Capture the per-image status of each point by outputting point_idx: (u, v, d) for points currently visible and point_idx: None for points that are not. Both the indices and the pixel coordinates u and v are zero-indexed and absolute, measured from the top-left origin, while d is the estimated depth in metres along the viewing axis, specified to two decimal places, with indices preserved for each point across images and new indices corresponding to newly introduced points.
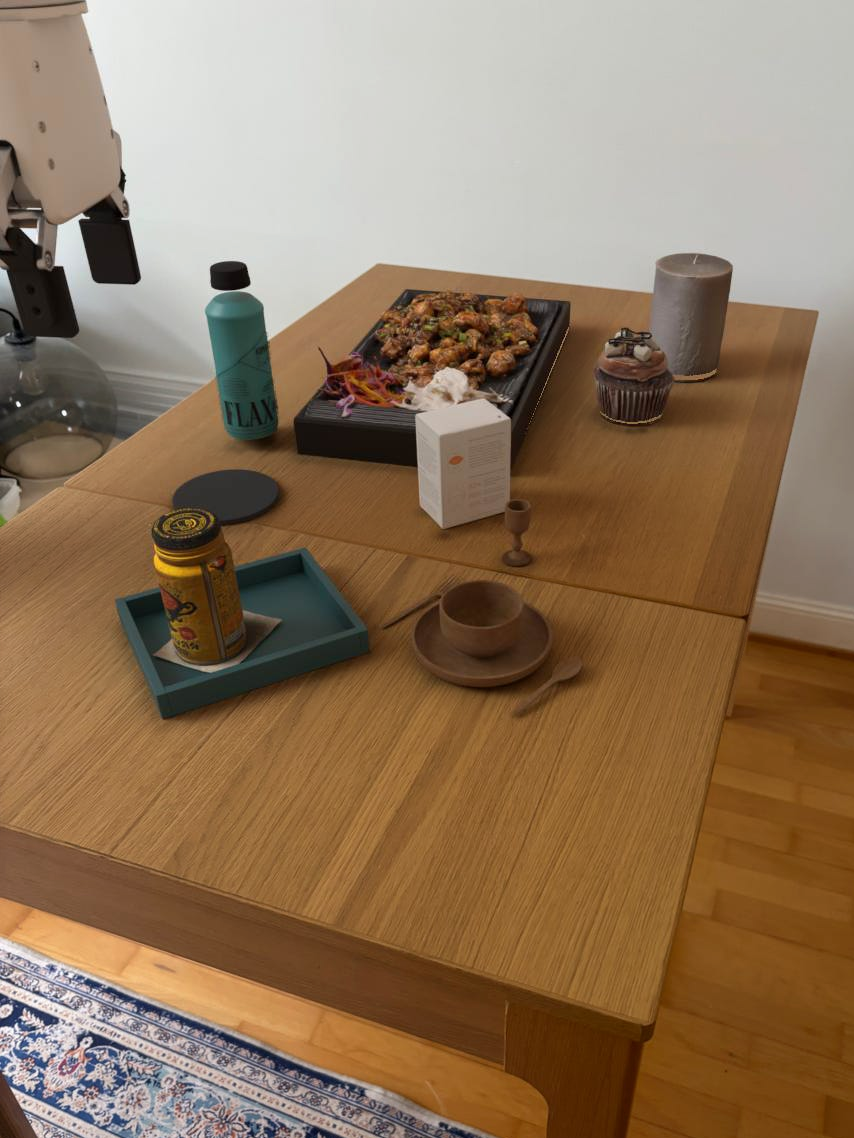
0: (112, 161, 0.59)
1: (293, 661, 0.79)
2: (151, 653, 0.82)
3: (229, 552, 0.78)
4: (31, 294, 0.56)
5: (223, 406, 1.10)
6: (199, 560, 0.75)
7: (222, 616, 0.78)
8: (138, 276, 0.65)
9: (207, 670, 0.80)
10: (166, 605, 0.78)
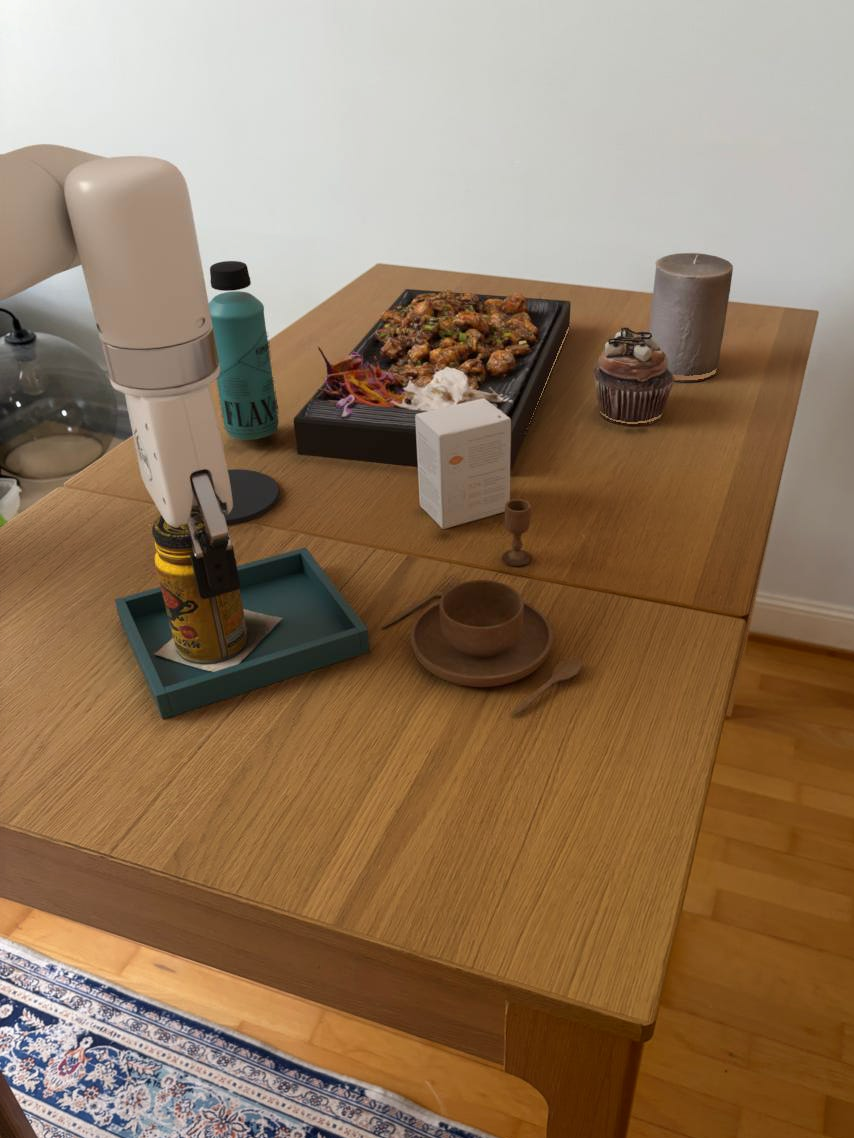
0: None
1: (293, 661, 0.79)
2: (151, 653, 0.82)
3: None
4: (217, 569, 0.74)
5: (223, 406, 1.10)
6: None
7: (223, 615, 0.78)
8: None
9: (208, 669, 0.80)
10: (167, 604, 0.78)
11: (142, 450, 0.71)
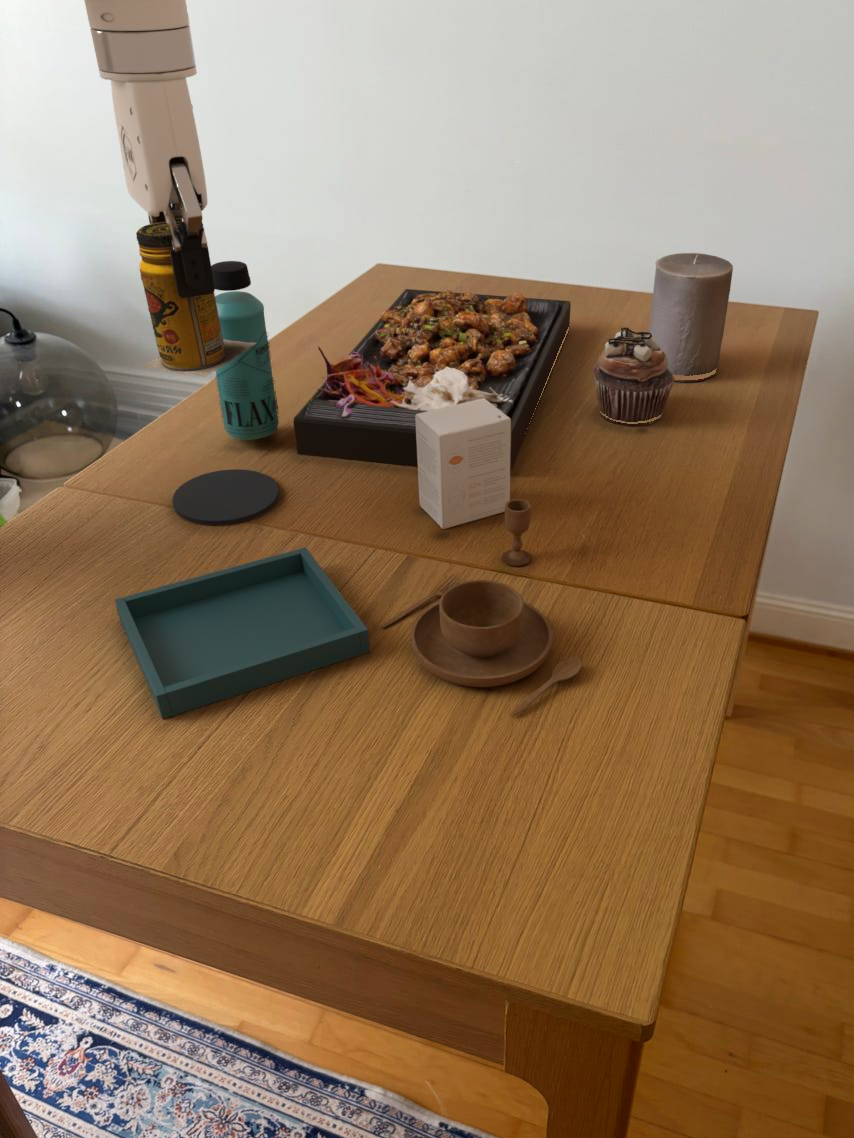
0: None
1: (293, 661, 0.79)
2: (151, 653, 0.82)
3: None
4: (193, 266, 0.84)
5: (223, 406, 1.10)
6: None
7: (201, 320, 0.88)
8: None
9: (189, 373, 0.90)
10: (151, 310, 0.88)
11: (127, 147, 0.80)
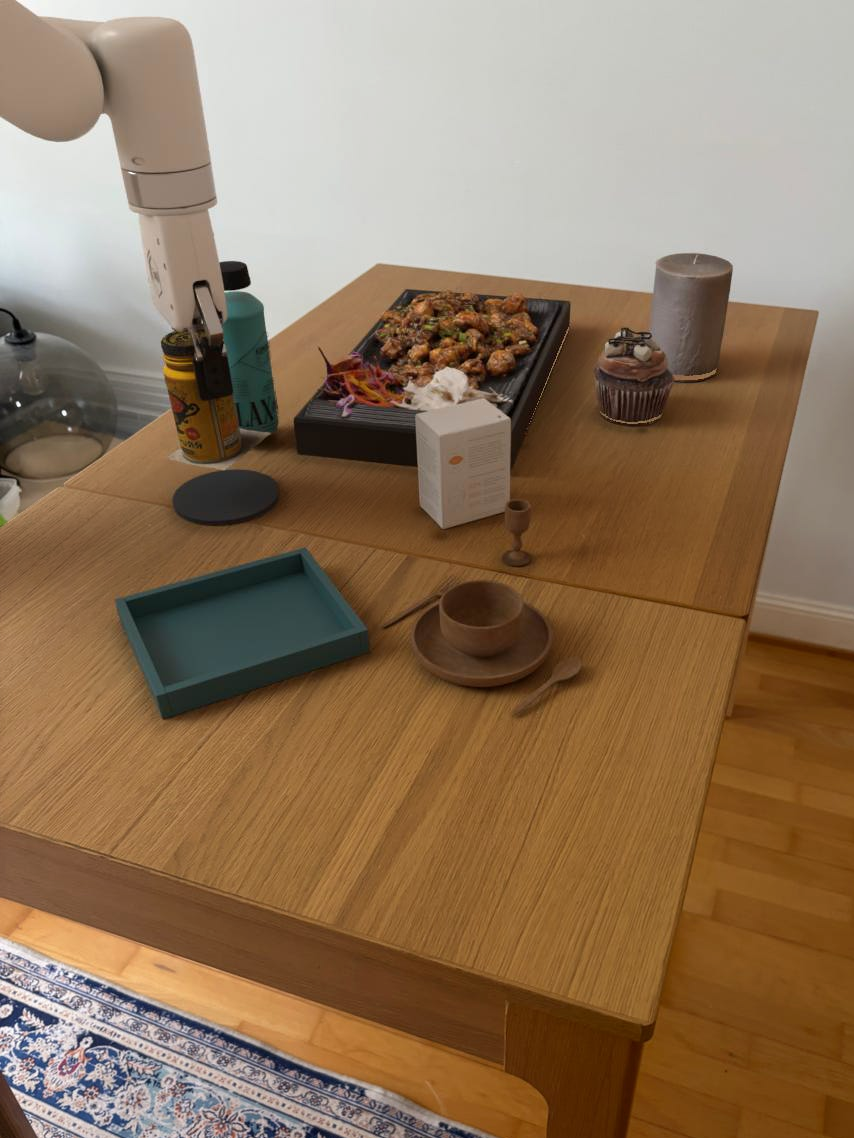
0: None
1: (293, 661, 0.79)
2: (151, 653, 0.82)
3: None
4: (214, 373, 0.91)
5: None
6: None
7: (220, 418, 0.95)
8: None
9: (209, 466, 0.97)
10: (174, 409, 0.95)
11: (153, 269, 0.87)
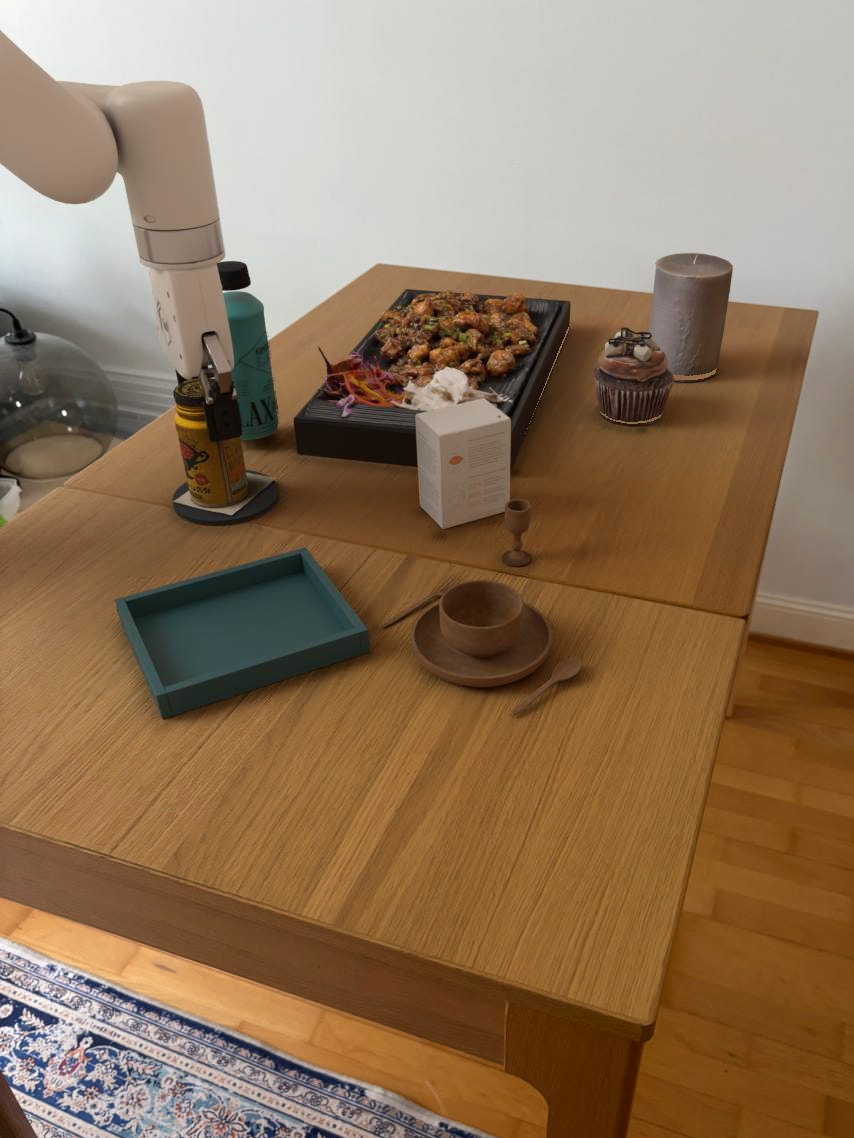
0: None
1: (293, 661, 0.79)
2: (151, 653, 0.82)
3: None
4: (224, 416, 0.92)
5: None
6: None
7: (229, 465, 0.98)
8: None
9: (217, 511, 1.00)
10: (184, 456, 0.98)
11: (163, 319, 0.90)
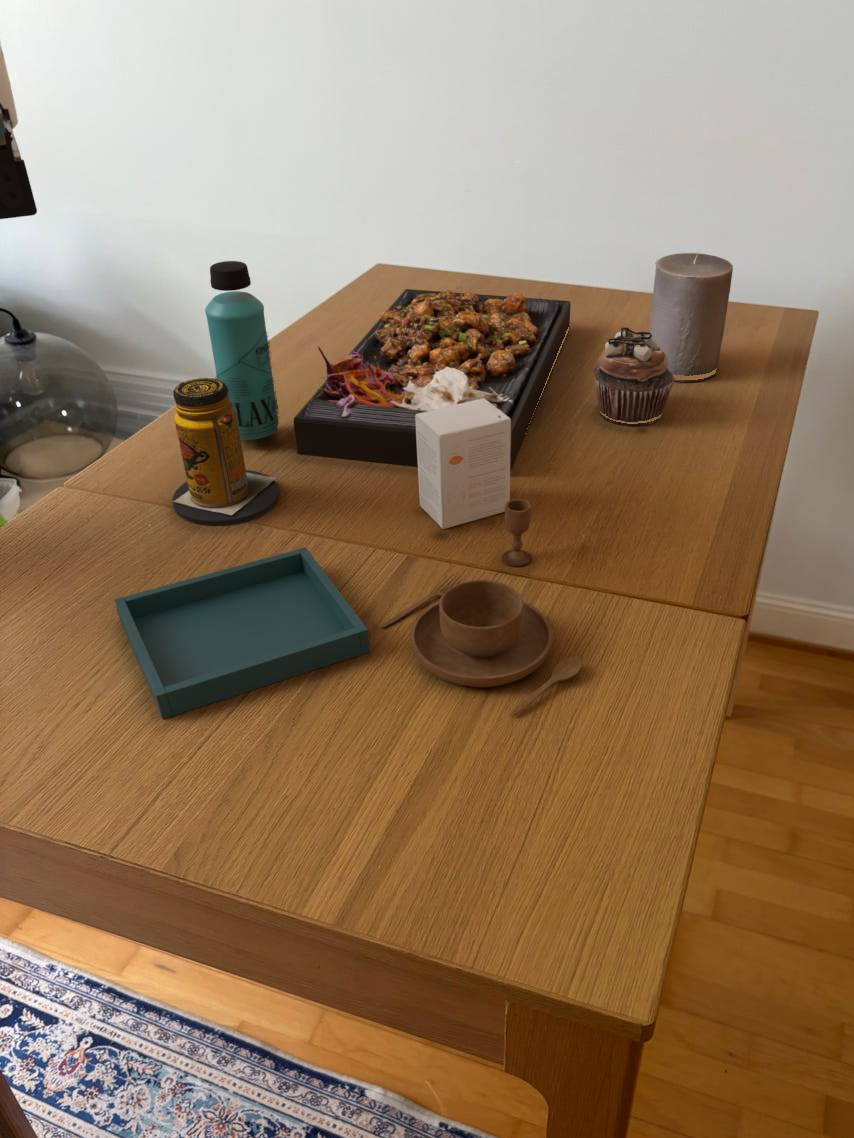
0: None
1: (293, 661, 0.79)
2: (151, 653, 0.82)
3: (234, 413, 0.97)
4: (7, 182, 0.76)
5: None
6: (211, 415, 0.95)
7: (229, 465, 0.98)
8: None
9: (217, 511, 1.00)
10: (184, 456, 0.98)
11: None
